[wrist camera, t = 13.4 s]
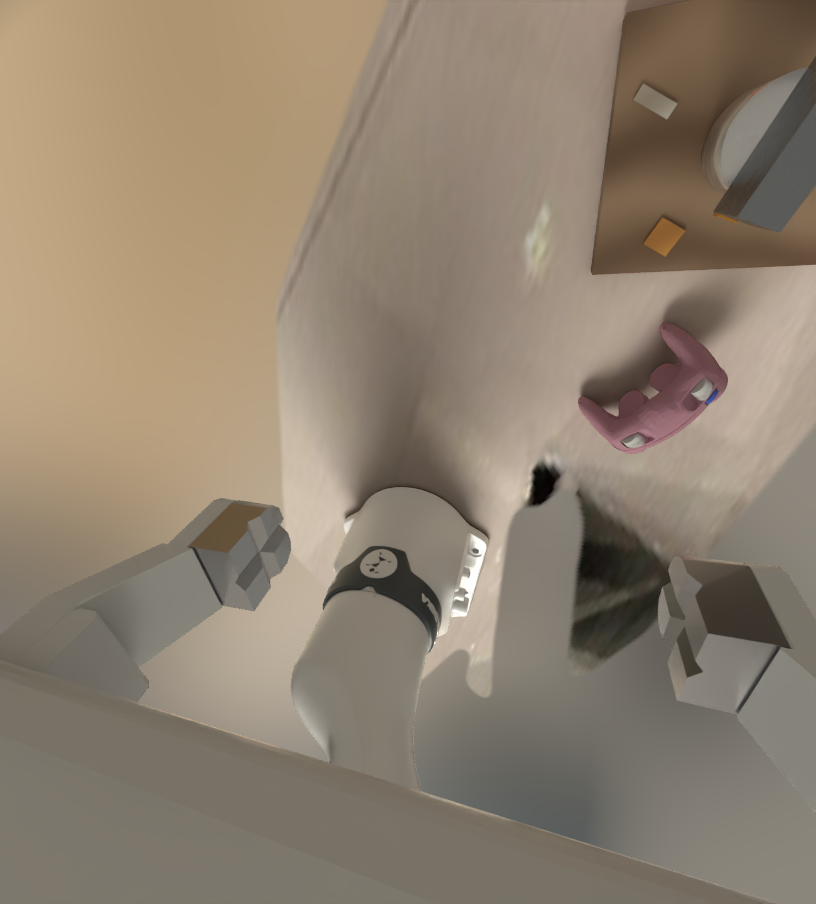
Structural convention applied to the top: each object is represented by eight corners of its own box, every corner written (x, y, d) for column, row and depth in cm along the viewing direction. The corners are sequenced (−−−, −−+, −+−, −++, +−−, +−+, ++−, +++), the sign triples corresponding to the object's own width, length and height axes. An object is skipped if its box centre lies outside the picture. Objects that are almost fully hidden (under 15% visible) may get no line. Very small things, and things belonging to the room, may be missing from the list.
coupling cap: (763, 40, 20) (845, -13, 15) (862, 74, 20) (985, 34, 15) (668, 200, 25) (704, 207, 19) (749, 230, 24) (810, 247, 19)
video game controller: (600, 416, 40) (635, 472, 35) (569, 400, 38) (602, 457, 33) (697, 336, 34) (754, 391, 29) (666, 312, 32) (722, 366, 27)
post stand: (812, 260, 28) (855, 274, 24) (590, 271, 32) (596, 284, 28) (928, -41, 21) (1017, -92, 17) (623, 20, 25) (637, -9, 21)
